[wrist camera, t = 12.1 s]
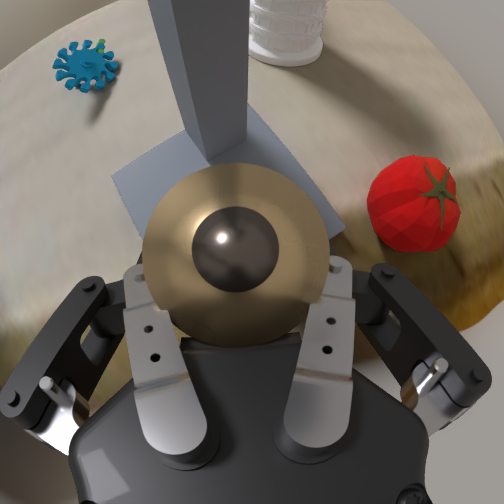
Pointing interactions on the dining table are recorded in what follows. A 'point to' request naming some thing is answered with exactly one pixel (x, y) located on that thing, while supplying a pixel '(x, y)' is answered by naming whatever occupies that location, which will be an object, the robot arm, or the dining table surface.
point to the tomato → (414, 204)
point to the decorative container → (286, 31)
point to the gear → (85, 65)
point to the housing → (235, 255)
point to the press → (209, 109)
